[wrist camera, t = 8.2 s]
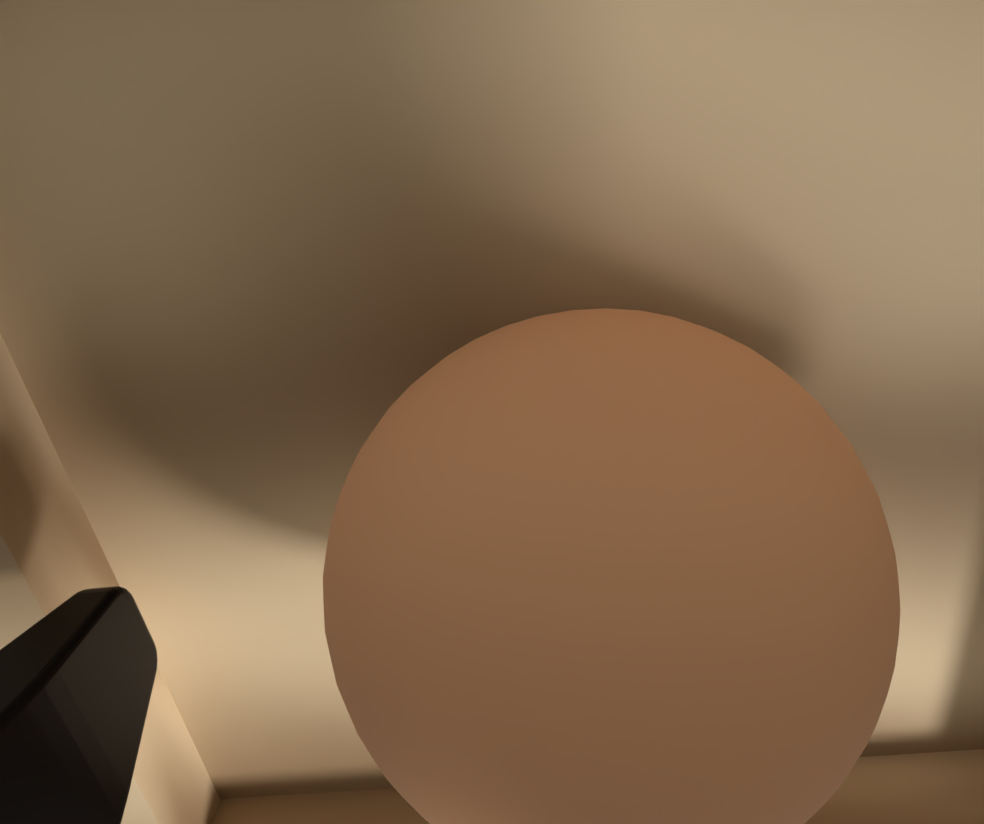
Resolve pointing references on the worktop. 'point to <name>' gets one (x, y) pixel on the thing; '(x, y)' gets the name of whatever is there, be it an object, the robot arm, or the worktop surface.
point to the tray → (460, 315)
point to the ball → (611, 583)
